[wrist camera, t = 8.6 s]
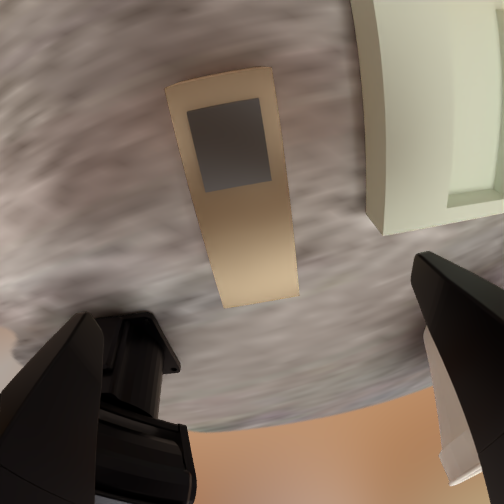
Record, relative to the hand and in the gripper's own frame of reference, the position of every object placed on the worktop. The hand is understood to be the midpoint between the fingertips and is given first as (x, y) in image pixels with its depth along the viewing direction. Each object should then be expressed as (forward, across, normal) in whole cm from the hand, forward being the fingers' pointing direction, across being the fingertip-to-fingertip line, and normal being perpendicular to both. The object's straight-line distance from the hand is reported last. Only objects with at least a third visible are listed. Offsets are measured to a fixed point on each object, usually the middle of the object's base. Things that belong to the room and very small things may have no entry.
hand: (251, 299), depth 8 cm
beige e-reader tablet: (+9, 0, 0) cm, 9 cm away
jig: (+9, -13, -6) cm, 17 cm away
